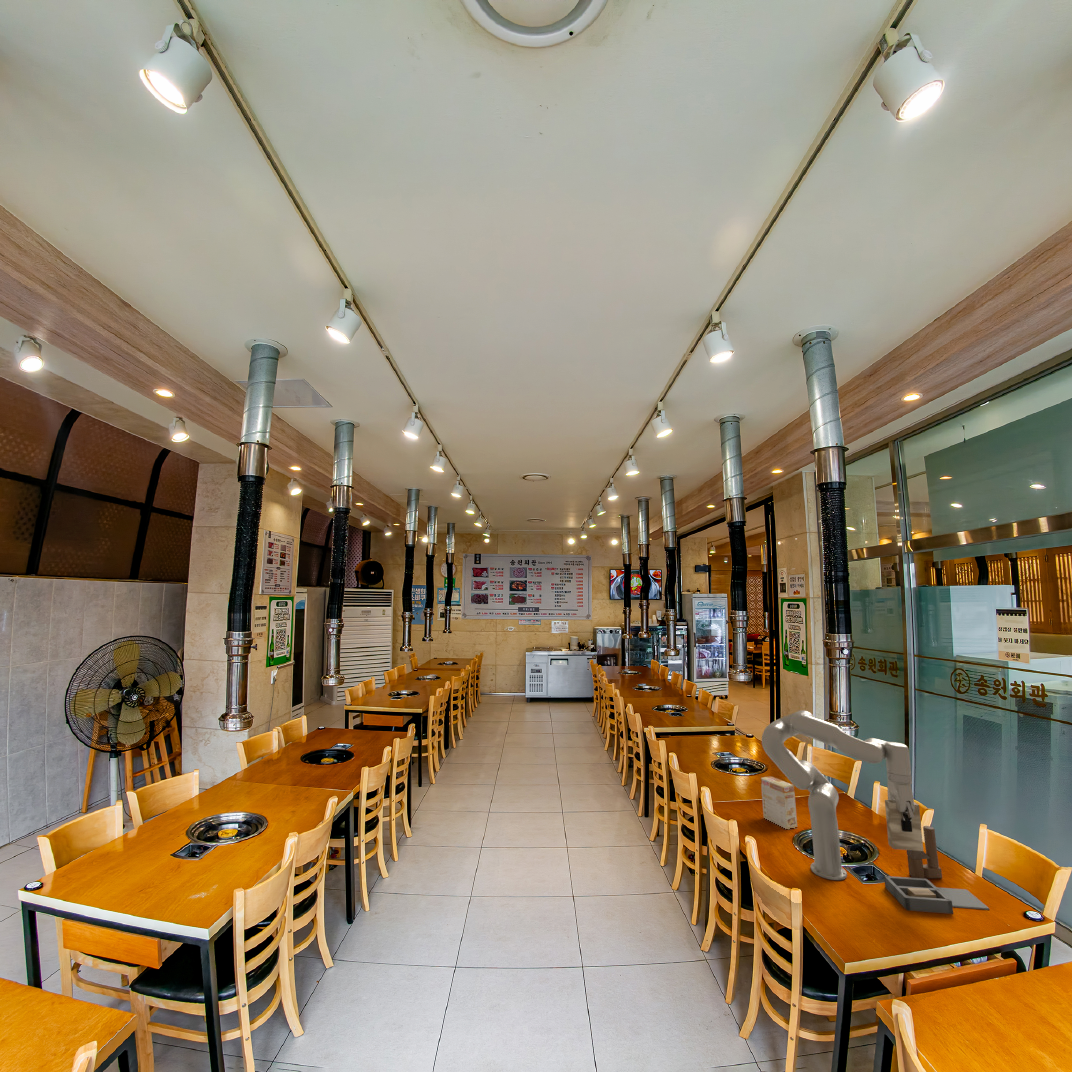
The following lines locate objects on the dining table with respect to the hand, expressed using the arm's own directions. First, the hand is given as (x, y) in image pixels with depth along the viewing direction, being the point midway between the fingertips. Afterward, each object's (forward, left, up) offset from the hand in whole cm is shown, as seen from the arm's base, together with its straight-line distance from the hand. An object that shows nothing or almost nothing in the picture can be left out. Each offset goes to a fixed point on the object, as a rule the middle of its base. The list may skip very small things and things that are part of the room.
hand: (903, 828), depth 190 cm
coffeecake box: (-59, -29, -23) cm, 70 cm away
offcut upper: (+7, 0, -21) cm, 22 cm away
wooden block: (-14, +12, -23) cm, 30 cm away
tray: (+4, 0, -23) cm, 23 cm away
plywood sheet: (0, 0, -7) cm, 7 cm away
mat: (+1, +15, -23) cm, 27 cm away
